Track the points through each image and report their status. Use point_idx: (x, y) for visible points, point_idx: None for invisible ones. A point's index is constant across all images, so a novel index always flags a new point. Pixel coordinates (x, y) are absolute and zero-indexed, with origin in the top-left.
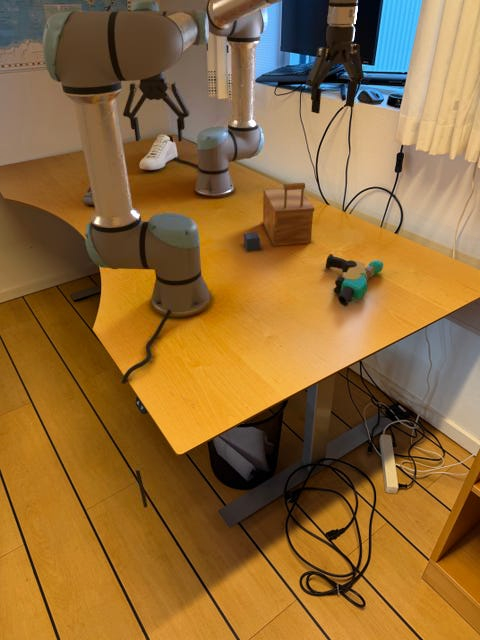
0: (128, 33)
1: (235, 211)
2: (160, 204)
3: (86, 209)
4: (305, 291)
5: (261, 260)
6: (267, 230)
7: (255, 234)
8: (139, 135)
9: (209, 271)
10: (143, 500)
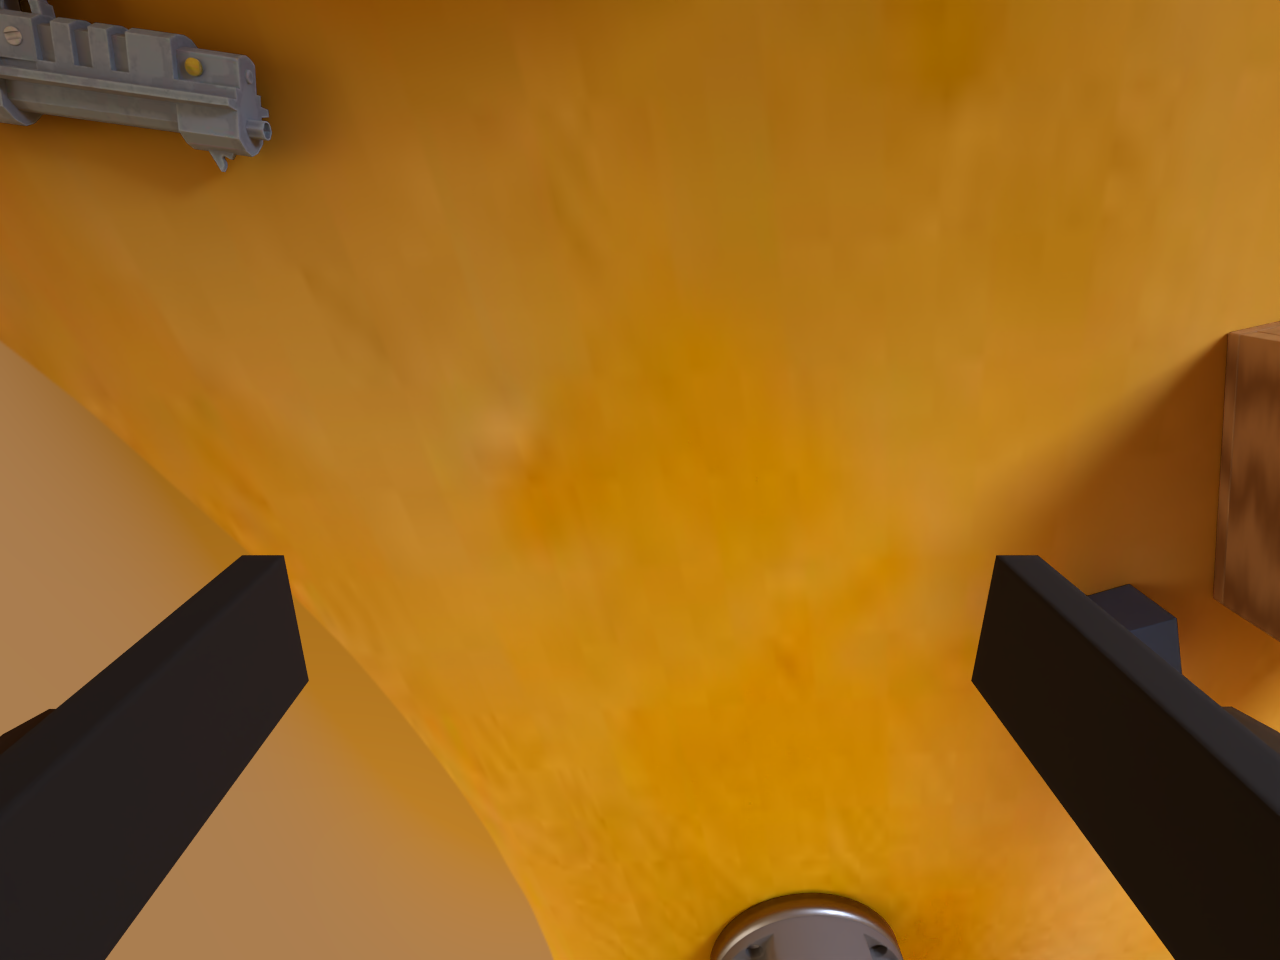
0: None
1: (1080, 144)
2: (512, 26)
3: (6, 161)
4: None
5: None
6: (1230, 461)
7: (1166, 644)
8: (255, 616)
9: (894, 802)
10: None
